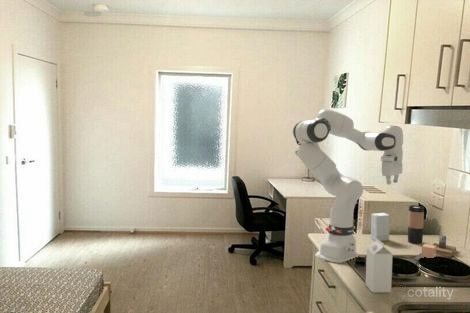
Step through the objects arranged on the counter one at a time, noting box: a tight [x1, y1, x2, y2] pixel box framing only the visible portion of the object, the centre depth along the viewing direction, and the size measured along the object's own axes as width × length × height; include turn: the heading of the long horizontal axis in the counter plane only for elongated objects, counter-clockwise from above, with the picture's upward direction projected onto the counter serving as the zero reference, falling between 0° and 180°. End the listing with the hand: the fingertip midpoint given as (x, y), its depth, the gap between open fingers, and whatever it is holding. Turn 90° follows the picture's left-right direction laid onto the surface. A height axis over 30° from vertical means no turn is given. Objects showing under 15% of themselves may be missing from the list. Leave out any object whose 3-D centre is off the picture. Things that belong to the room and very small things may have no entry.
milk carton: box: [365, 239, 393, 294], centre depth 140 cm, size 7×7×19 cm
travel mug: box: [407, 204, 425, 245], centre depth 199 cm, size 8×8×20 cm
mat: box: [413, 252, 422, 261], centre depth 174 cm, size 11×10×1 cm
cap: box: [421, 243, 437, 258], centre depth 173 cm, size 5×5×6 cm
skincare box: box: [370, 212, 391, 242], centre depth 204 cm, size 8×6×15 cm
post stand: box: [432, 234, 457, 258], centre depth 185 cm, size 12×10×8 cm
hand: (392, 183), depth 188 cm, fingers open, 8 cm apart
